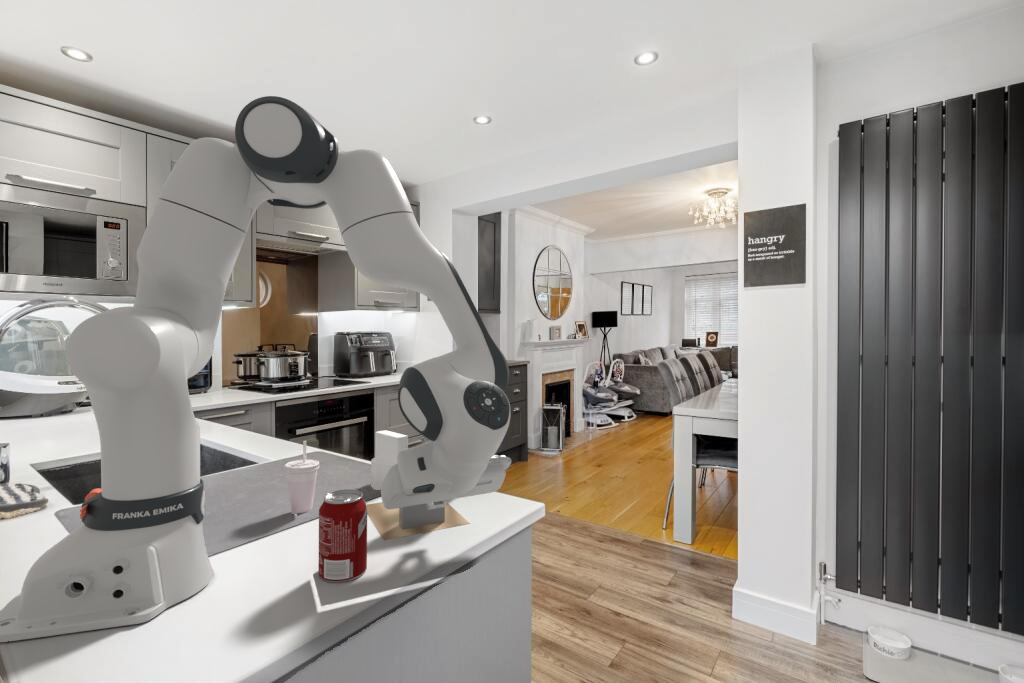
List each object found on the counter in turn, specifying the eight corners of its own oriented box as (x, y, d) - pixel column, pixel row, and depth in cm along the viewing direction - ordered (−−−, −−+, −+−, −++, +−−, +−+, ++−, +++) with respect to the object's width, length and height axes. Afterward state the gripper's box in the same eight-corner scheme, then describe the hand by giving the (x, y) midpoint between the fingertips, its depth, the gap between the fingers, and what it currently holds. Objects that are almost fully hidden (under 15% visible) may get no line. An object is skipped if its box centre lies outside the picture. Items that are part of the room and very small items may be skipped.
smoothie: (326, 510, 98) (326, 440, 97) (297, 521, 92) (297, 447, 92) (306, 503, 101) (306, 436, 101) (277, 513, 96) (277, 442, 95)
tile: (402, 529, 88) (403, 474, 88) (398, 524, 90) (399, 470, 90) (444, 521, 92) (445, 468, 91) (440, 517, 94) (440, 465, 94)
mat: (383, 543, 84) (383, 539, 84) (362, 508, 99) (362, 505, 99) (470, 526, 91) (470, 523, 91) (437, 496, 107) (437, 493, 107)
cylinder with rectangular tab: (363, 485, 114) (363, 433, 113) (395, 476, 121) (395, 428, 120) (386, 494, 108) (386, 440, 108) (418, 484, 115) (419, 433, 114)
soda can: (351, 590, 69) (352, 505, 68) (308, 584, 70) (309, 501, 70) (374, 567, 75) (375, 489, 75) (334, 562, 77) (335, 486, 76)
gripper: (508, 439, 83) (483, 480, 92) (388, 452, 73) (372, 496, 82) (521, 472, 79) (493, 511, 88) (395, 491, 70) (379, 533, 78)
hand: (434, 504), depth 85 cm, fingers closed
